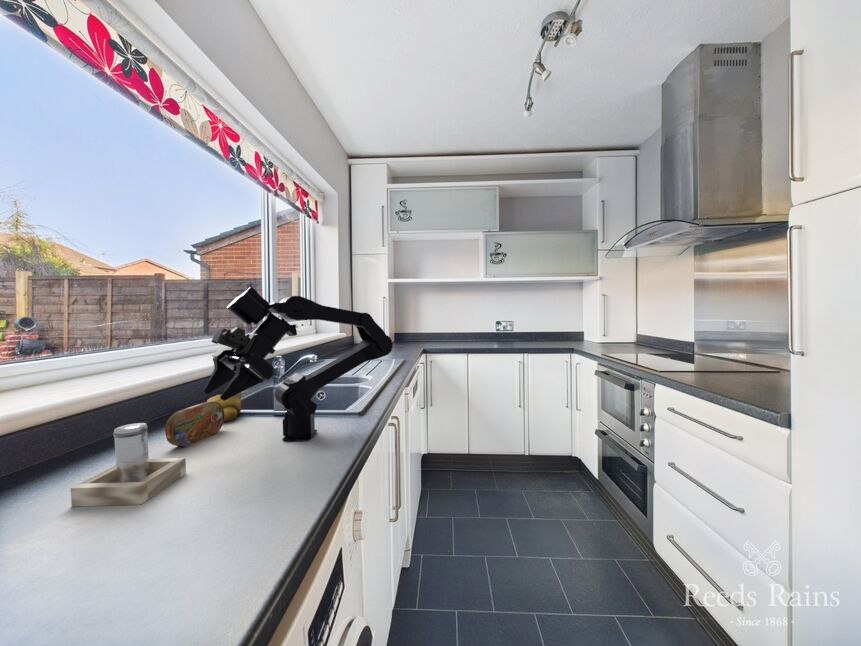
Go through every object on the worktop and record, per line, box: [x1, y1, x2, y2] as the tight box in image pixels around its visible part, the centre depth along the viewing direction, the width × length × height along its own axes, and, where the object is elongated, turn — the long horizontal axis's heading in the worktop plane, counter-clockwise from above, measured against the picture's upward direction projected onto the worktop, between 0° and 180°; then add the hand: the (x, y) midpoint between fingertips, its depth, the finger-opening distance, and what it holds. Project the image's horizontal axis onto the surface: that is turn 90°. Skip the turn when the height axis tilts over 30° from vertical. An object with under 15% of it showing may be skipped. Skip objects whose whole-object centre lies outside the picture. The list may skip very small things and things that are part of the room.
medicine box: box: [272, 381, 287, 412], centre depth 109 cm, size 8×4×9 cm, turn 5°
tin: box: [164, 401, 225, 447], centre depth 87 cm, size 15×3×8 cm, turn 168°
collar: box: [70, 457, 187, 507], centre depth 63 cm, size 11×11×3 cm
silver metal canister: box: [112, 422, 150, 483], centre depth 63 cm, size 5×5×11 cm
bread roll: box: [206, 392, 243, 422], centre depth 104 cm, size 13×10×8 cm
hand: (213, 396), depth 74 cm, fingers open, 9 cm apart
